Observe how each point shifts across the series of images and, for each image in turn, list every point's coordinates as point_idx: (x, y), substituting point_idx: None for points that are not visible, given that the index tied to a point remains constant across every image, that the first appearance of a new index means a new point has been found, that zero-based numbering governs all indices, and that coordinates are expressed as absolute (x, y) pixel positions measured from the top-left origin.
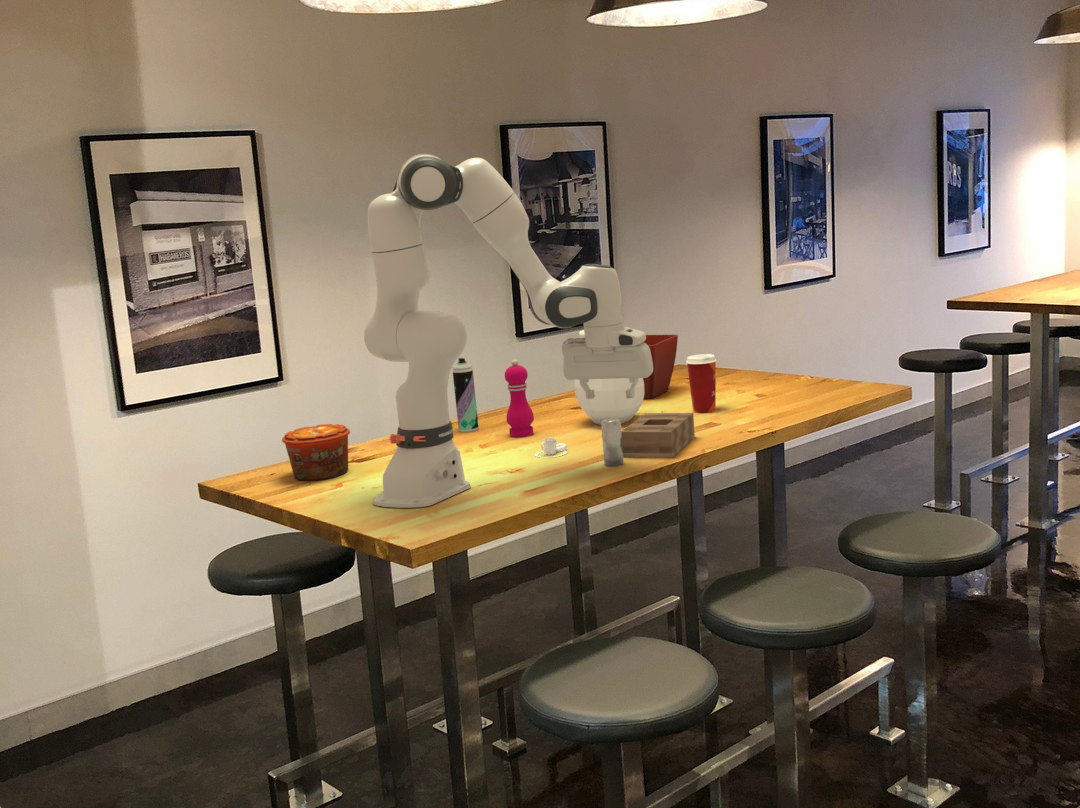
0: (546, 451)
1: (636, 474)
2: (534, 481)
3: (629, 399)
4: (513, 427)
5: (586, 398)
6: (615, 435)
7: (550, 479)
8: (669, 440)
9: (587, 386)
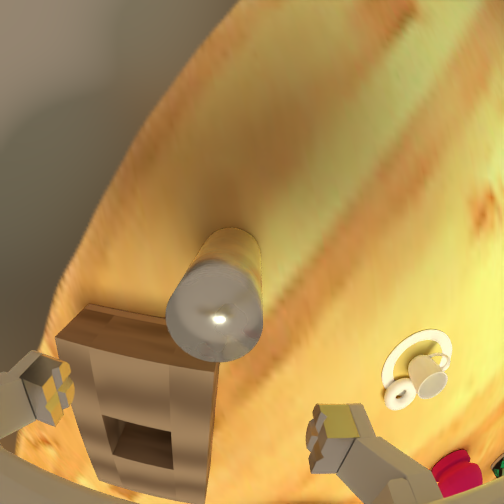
0: (430, 358)
1: (139, 135)
2: (425, 91)
3: None
4: (467, 462)
5: (359, 403)
6: (196, 262)
7: (390, 101)
8: (72, 326)
9: (363, 483)
